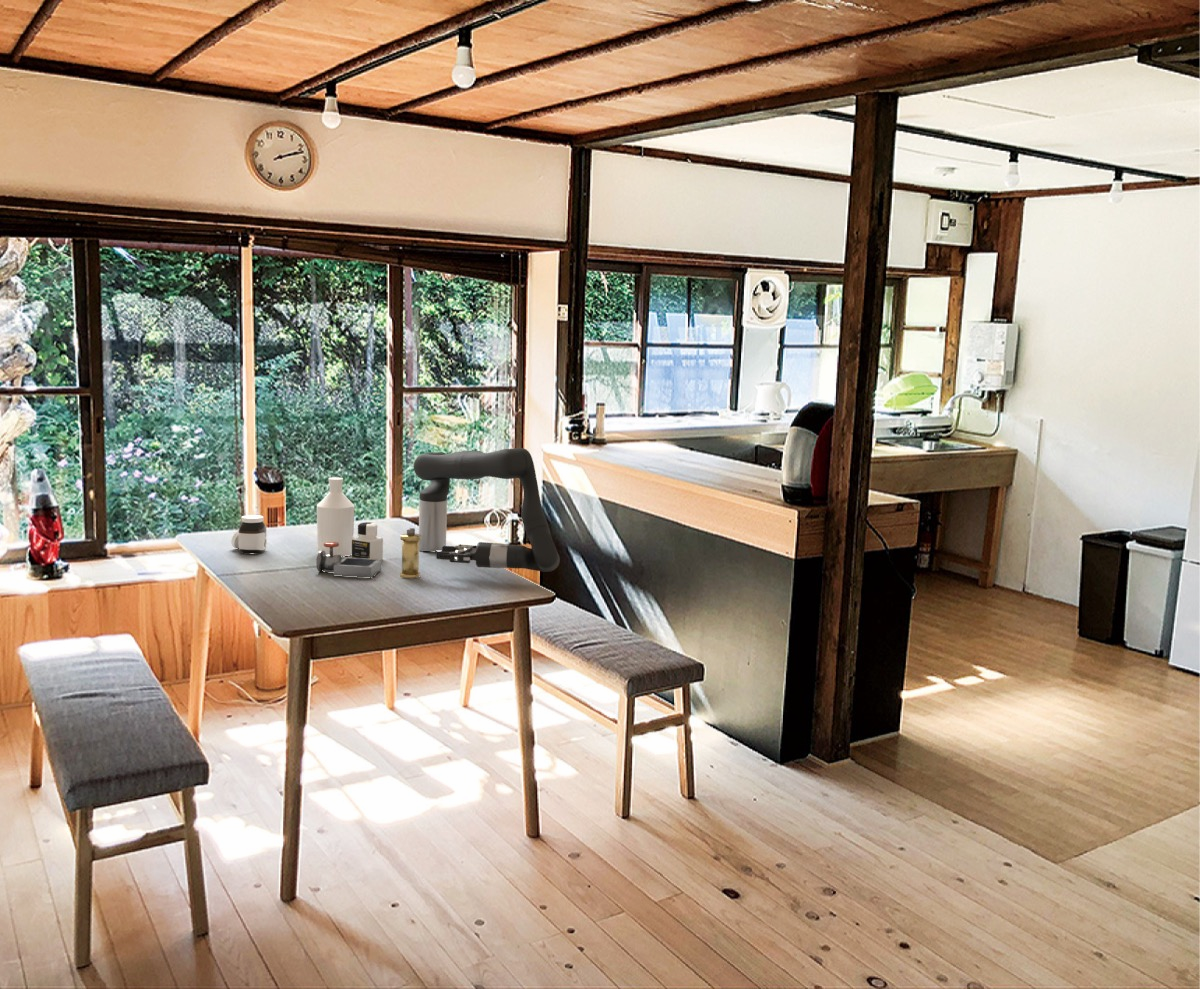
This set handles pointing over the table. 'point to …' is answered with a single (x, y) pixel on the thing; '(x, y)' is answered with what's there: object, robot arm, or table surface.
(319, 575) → the table surface
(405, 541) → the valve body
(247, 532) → the spread jar
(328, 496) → the bottle
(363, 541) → the medicine bottle
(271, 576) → the table surface
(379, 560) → the grey piece
